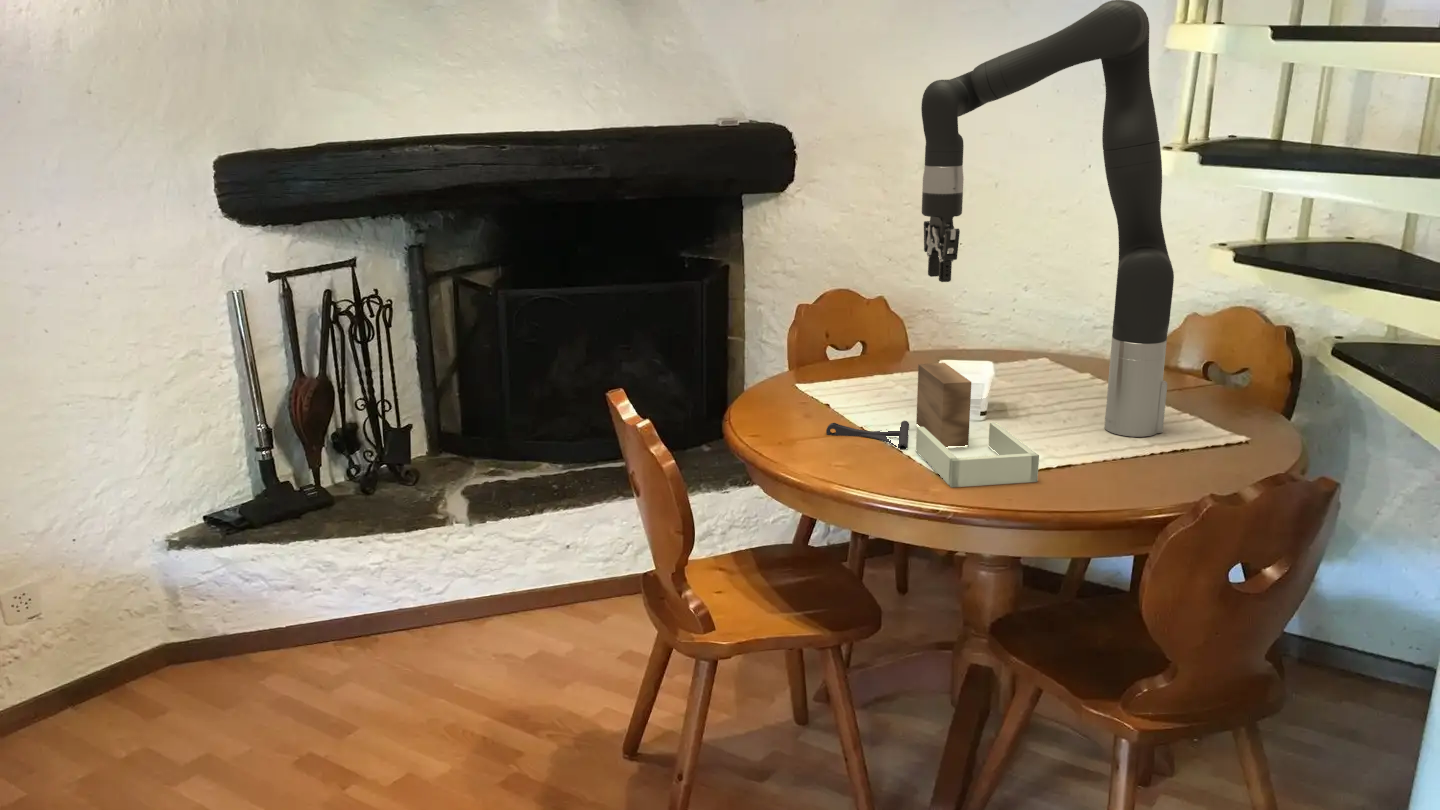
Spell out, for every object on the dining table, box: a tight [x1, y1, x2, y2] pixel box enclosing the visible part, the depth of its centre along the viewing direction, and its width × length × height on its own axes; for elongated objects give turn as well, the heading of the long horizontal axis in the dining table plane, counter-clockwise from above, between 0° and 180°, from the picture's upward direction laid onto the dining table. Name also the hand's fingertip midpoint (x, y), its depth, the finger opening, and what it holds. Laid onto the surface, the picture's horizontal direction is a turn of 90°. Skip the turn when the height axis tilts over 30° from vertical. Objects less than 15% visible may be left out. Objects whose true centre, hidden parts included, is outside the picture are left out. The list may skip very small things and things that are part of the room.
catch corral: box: [915, 421, 1040, 488], centre depth 186 cm, size 14×18×4 cm
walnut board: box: [916, 362, 972, 447], centre depth 201 cm, size 5×14×12 cm, turn 8°
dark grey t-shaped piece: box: [825, 420, 910, 449], centre depth 203 cm, size 14×15×3 cm
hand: (939, 278), depth 214 cm, fingers open, 5 cm apart
